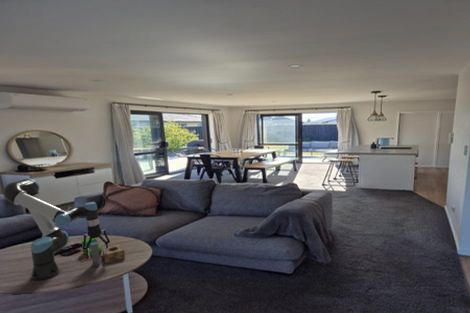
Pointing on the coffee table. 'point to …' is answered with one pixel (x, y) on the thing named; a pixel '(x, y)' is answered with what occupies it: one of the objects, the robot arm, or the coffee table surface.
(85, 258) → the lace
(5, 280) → the coffee table surface
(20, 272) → the coffee table surface
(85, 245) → the toy car
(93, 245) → the dark grey bar
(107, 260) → the wooden square frame
